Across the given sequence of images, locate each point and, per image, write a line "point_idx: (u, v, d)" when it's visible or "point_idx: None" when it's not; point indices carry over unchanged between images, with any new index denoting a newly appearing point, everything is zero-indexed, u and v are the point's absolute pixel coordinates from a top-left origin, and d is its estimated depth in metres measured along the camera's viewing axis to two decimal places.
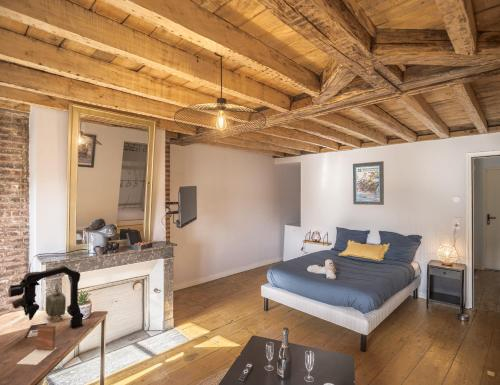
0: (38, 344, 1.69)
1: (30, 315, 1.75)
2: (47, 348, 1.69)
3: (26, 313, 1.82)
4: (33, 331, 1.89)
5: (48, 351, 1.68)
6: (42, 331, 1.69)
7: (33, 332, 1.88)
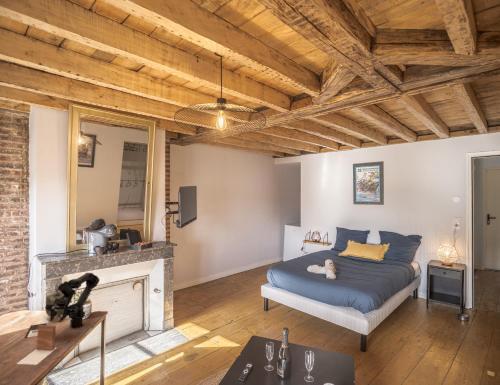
0: (38, 344, 1.69)
1: (64, 316, 1.80)
2: (47, 348, 1.69)
3: (51, 319, 1.78)
4: (33, 331, 1.89)
5: (48, 351, 1.68)
6: (42, 331, 1.69)
7: (33, 332, 1.88)
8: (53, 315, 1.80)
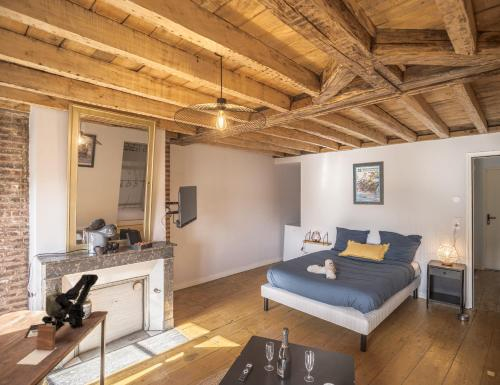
0: (38, 344, 1.69)
1: (56, 329, 1.77)
2: (47, 348, 1.69)
3: None
4: (33, 331, 1.89)
5: (48, 351, 1.68)
6: (42, 331, 1.69)
7: (33, 332, 1.88)
8: None
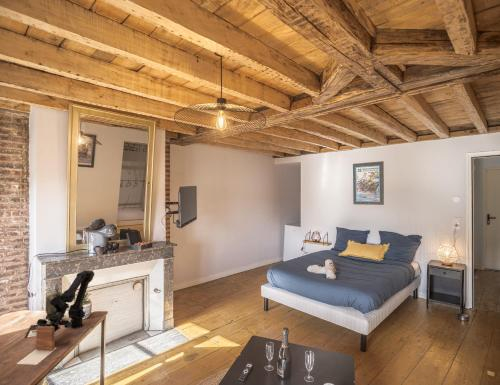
0: (38, 344, 1.68)
1: None
2: (47, 348, 1.69)
3: None
4: (33, 331, 1.89)
5: (48, 351, 1.68)
6: (41, 332, 1.68)
7: (33, 332, 1.88)
8: None
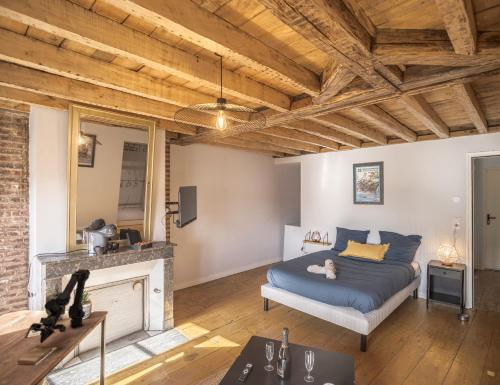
0: None
1: (45, 336, 1.67)
2: None
3: None
4: (33, 331, 1.89)
5: None
6: None
7: (33, 332, 1.88)
8: None
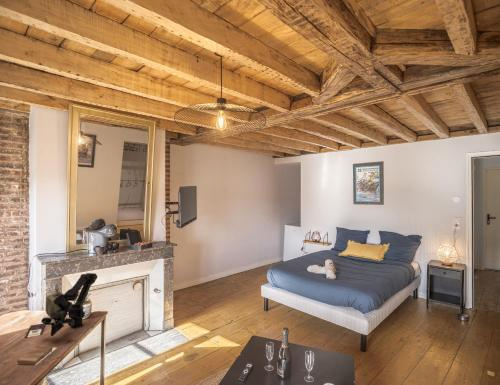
0: None
1: (55, 330, 1.76)
2: None
3: None
4: (33, 331, 1.89)
5: None
6: None
7: (33, 332, 1.88)
8: None
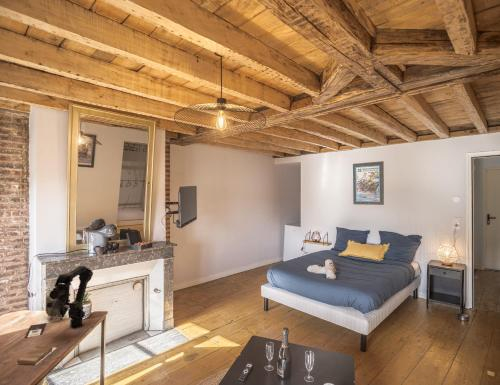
0: None
1: (64, 312, 1.85)
2: None
3: None
4: (33, 331, 1.89)
5: None
6: None
7: (33, 332, 1.88)
8: None
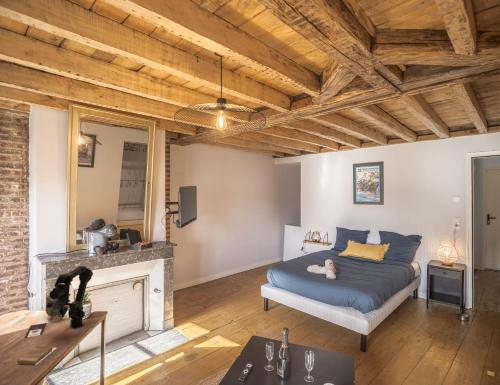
0: None
1: (64, 312, 1.85)
2: None
3: None
4: (33, 331, 1.89)
5: None
6: None
7: (33, 332, 1.88)
8: None
